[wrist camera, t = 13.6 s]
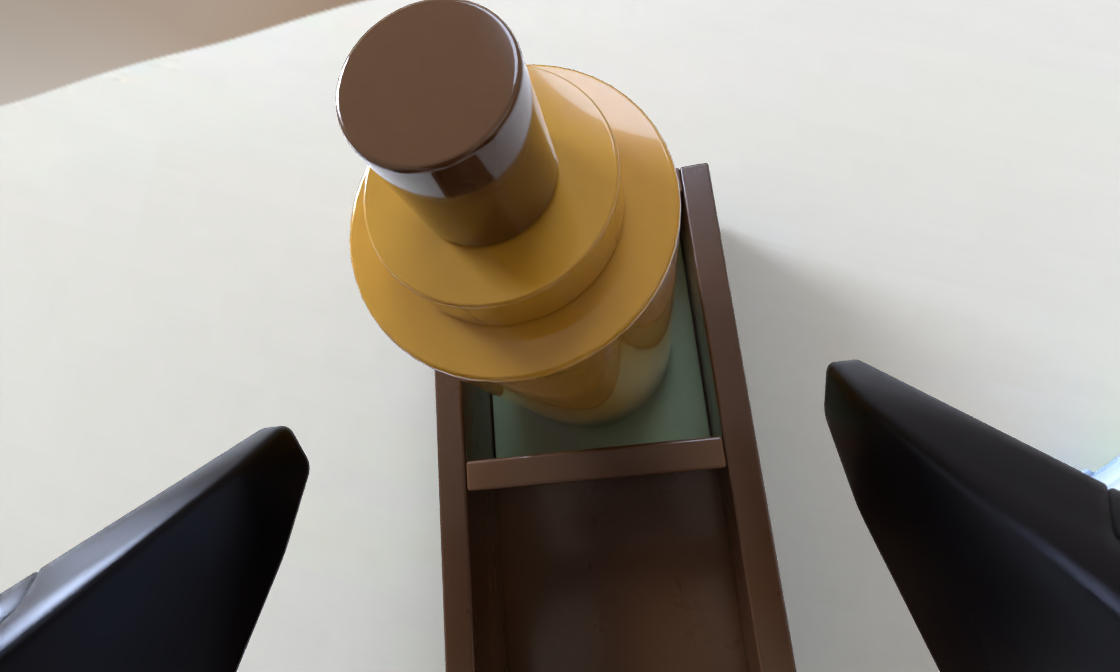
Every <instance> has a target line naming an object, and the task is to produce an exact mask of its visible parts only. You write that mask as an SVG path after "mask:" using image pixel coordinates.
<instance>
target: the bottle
mask: <svg viewBox="0 0 1120 672" xmlns="http://www.w3.org/2000/svg"><path fill="white" fill-rule="evenodd" d="M336 112H337V116H338V121H339V125H340V127H341V130H342V133H343V135H344V137H345V138H346V140H347V142H348V144H349V145H350V146H351V147H352V149H353V150H354V151H355V152H356V153H357V154H358V155H359V156H360V157H361V158H362V159H363V160H364V161H365V162H366V163H367V164H368V166H367V168H366V171H365V173H364V175H363V177H362V180H361V182H360V185H359V188H358V191H357V194H356V197H355V201H354V206H353V211H352V217H351V225H350V251H351V261H352V266H353V271H354V275H355V280H356V282H357V285H358V288H359V291H360V293H361V296H362V299H363V301H364V303H365V304H366V306H367V308H368V310H369V312H370V314H371V316H372V317H373V319H374V320H375V321H376V323H377V324H378V325H379V327H380V328H381V329H382V331H383V332H384V333H385V334H386V335H387V336H388V337H389V338H390V339H391V340H392V341H393V342H394V343H395V344H396V345H397V346H398V347H399V348H401V349H402V350H403V351H405V352H406V353H407V354H409V355H410V356H411V357H413V358H414V359H416V360H417V361H419V362H421V363H423V364H425V365H427V366H429V367H430V368H432V369H434V370H437V371H439V372H441V373H444V374H446V375H448V376H451V377H453V378H456V379H458V380H460V381H463V382H465V383H467V384H470V385H472V386H474V387H477V388H479V389H482V390H484V391H486V392H489V393H491V394H493V395H496V396H498V397H500V398H503V399H505V400H508V401H510V402H512V403H515V404H517V405H519V406H522V407H524V408H526V409H529V410H531V411H534V412H536V413H538V414H541V415H543V416H545V417H548V418H550V419H552V420H555V421H557V422H560V423H563V424H565V425H570V426H574V427H583V428H595V427H602V426H608V425H611V424H614V423H617V422H620V421H622V420H624V419H626V418H628V417H630V416H632V415H633V414H635V413H636V412H638V411H639V410H640V409H641V408H642V407H644V406H645V405H646V404H647V403H648V402H649V401H650V399H651V398H652V397H653V396H654V395H655V393H656V392H657V390H658V389H659V387H660V385H661V383H662V381H663V379H664V377H665V374H666V371H667V369H668V365H669V359H670V351H671V338H672V324H673V311H674V298H675V285H676V272H677V259H678V246H679V232H680V215H681V199H680V189H679V181H678V177H677V173H676V169H675V165H674V162H673V160H672V157H671V155H670V152H669V150H668V147H667V145H666V143H665V141H664V140H663V138H662V136H661V135H660V133H659V131H658V130H657V128H656V126H655V125H654V124H653V123H652V122H651V120H650V119H649V118H648V117H647V116H646V114H645V113H644V112H643V111H642V110H641V109H640V108H639V107H638V106H637V105H636V104H635V103H634V102H632V101H631V100H630V99H629V98H628V97H627V96H626V95H624V94H623V93H621V92H620V91H618V90H617V89H615V88H614V87H612V86H611V85H609V84H607V83H605V82H603V81H601V80H599V79H597V78H595V77H593V76H590V75H587V74H584V73H581V72H578V71H575V70H571V69H566V68H561V67H556V66H546V65H526V64H525V61H524V58H523V55H522V52H521V49H520V46H519V43H518V41H517V39H516V37H515V35H514V33H513V32H512V31H511V29H510V28H509V27H508V25H507V24H506V23H505V22H504V21H503V20H502V19H500V18H499V17H498V16H497V15H496V14H494V13H493V12H492V11H490V10H489V9H487V8H485V7H483V6H481V5H479V4H476V3H473V2H470V1H467V0H424V1H420V2H416V3H413V4H410V5H407V6H405V7H403V8H400V9H398V10H396V11H394V12H393V13H391V14H389V15H387V16H386V17H384V18H383V19H382V20H380V21H379V22H377V23H376V24H375V25H374V26H373V27H371V28H370V29H369V30H368V31H367V32H366V33H365V34H364V35H363V36H362V37H361V38H360V40H359V41H358V42H357V44H356V45H355V46H354V47H353V49H352V51H351V52H350V54H349V55H348V57H347V59H346V61H345V63H344V65H343V67H342V70H341V73H340V76H339V79H338V84H337V89H336Z"/></svg>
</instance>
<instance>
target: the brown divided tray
mask: <svg viewBox="0 0 1120 672" xmlns="http://www.w3.org/2000/svg"><path fill="white" fill-rule="evenodd" d="M675 169H676V173H677V177H678V181H679V189H680V199H681V215H680V232H679V246H678V259H677V272H676V285H675V298H674V311H673V324H672V338H671V351H670V359H669V365H668V369H667V371H666V374H665V377H664V379H663V381H662V383H661V385H660V387H659V389H658V390H657V392H656V393H655V395H654V396H653V397H652V398H651V399H650V401H649V402H648V403H647V404H646V405H645V406H644V407H642V408H641V409H640V410H639V411H638V412H636V413H635V414H633V415H632V416H630V417H628V418H626V419H624V420H622V421H620V422H617V423H614V424H611V425H608V426H602V427H595V428H583V427H574V426H570V425H565V424H563V423H560V422H557V421H555V420H552V419H550V418H548V417H545V416H543V415H541V414H538V413H536V412H534V411H531V410H529V409H526V408H524V407H522V406H519V405H517V404H515V403H512V402H510V401H508V400H505V399H503V398H500V397H498V396H496V395H493V394H491V393H489V392H486V391H484V390H482V389H479V388H477V387H474V386H472V385H470V384H467V383H465V382H463V381H460V380H458V379H456V378H453V377H451V376H448V375H446V374H444V373H441V372H439V371H437V370H435V388H436V416H437V443H438V470H439V498H440V525H441V552H442V580H443V607H444V634H445V662H446V672H797V671H796V665H795V660H794V654H793V648H792V643H791V637H790V631H789V625H788V620H787V614H786V608H785V602H784V597H783V591H782V585H781V579H780V574H779V568H778V562H777V556H776V551H775V545H774V539H773V533H772V528H771V522H770V516H769V510H768V505H767V499H766V493H765V487H764V482H763V476H762V470H761V464H760V459H759V453H758V447H757V442H756V436H755V430H754V424H753V419H752V413H751V407H750V401H749V396H748V390H747V384H746V378H745V373H744V367H743V361H742V355H741V350H740V344H739V338H738V332H737V327H736V321H735V315H734V309H733V304H732V298H731V292H730V286H729V281H728V275H727V269H726V263H725V258H724V252H723V246H722V240H721V235H720V229H719V223H718V218H717V212H716V206H715V200H714V195H713V189H712V183H711V177H710V172H709V166H708V164H707V163H703V164H697V165H692V166H686V167H682V168H680V170H679V168H675Z"/></svg>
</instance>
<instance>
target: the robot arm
mask: <svg viewBox="0 0 1120 672" xmlns="http://www.w3.org/2000/svg"><path fill="white" fill-rule="evenodd" d="M824 410H825V416H826V420H827V423H828V426H829V429H830V432H831V434H832V437H833V440H834V443H835V446H836V448H837V451H838V454H839V457H840V460H841V463H842V465H843V468H844V471H845V474H846V477H847V479H848V482H849V485H850V488H851V491H852V493H853V496H854V499H855V501H856V504H857V506H858V509H859V511H860V513H861V515H862V517H863V519H864V522H865V524H866V526H867V528H868V530H869V532H870V534H871V536H872V538H873V540H874V542H875V544H876V546H877V548H878V550H879V552H880V554H881V556H882V558H883V560H884V562H885V564H886V566H887V568H888V569H889V571H890V573H891V575H892V577H893V579H894V581H895V583H896V585H897V587H898V589H899V591H900V593H901V595H902V597H903V599H904V601H905V603H906V605H907V607H908V609H909V611H910V613H911V615H912V617H913V619H914V621H915V623H916V625H917V627H918V629H919V631H920V633H921V635H922V637H923V639H924V641H925V643H926V645H927V647H928V649H929V651H930V653H931V655H932V657H933V659H934V661H935V663H936V665H937V667H938V669H939V671H940V672H1120V491H1119V490H1117V489H1115V488H1110V489H1108V487H1107V485H1106V484H1105V483H1103V482H1101V481H1099V480H1097V479H1095V478H1093V477H1091V476H1089V475H1087V474H1085V473H1083V472H1081V471H1079V470H1077V469H1075V468H1073V467H1071V466H1069V465H1067V464H1065V463H1063V462H1061V461H1059V460H1057V459H1055V458H1053V457H1051V456H1049V455H1047V454H1045V453H1043V452H1041V451H1039V450H1037V449H1035V448H1033V447H1031V446H1029V445H1027V444H1025V443H1023V442H1021V441H1019V440H1017V439H1015V438H1013V437H1011V436H1009V435H1007V434H1005V433H1003V432H1001V431H999V430H997V429H995V428H993V427H991V426H989V425H987V424H985V423H983V422H981V421H979V420H977V419H975V418H973V417H971V416H969V415H967V414H965V413H963V412H961V411H959V410H957V409H955V408H954V407H952V406H950V405H948V404H946V403H944V402H942V401H940V400H938V399H936V398H934V397H932V396H930V395H928V394H926V393H924V392H922V391H920V390H918V389H916V388H914V387H912V386H910V385H908V384H906V383H904V382H902V381H900V380H898V379H896V378H894V377H892V376H890V375H888V374H886V373H884V372H882V371H880V370H878V369H876V368H874V367H872V366H870V365H868V364H866V363H864V362H862V361H859V360H847V361H839V362H832V363H831V364H829V365H828V368H827V371H826V385H825V401H824ZM308 475H309V461H308V459H307V457H306V455H305V453H304V451H303V450H302V448H301V446H300V444H299V442H298V441H297V439H296V437H295V435H294V434H293V432H292V431H291V430H290V429H289V428H288V427H285V426H278V427H269V428H264V429H261V430H259V431H258V432H256V433H255V434H253V435H251V436H250V437H248V438H247V439H245V440H244V441H242V442H240V443H239V444H237V445H236V446H234V447H232V448H231V449H229V450H228V451H226V452H225V453H223V454H221V455H220V456H218V457H217V458H215V459H213V460H212V461H210V462H209V463H207V464H206V465H204V466H202V467H201V468H199V469H198V470H196V471H194V472H193V473H191V474H190V475H188V476H187V477H185V478H183V479H182V480H180V481H179V482H177V483H175V484H174V485H172V486H171V487H169V488H168V489H166V490H164V491H163V492H161V493H160V494H158V495H156V496H155V497H153V498H152V499H150V500H149V501H147V502H145V503H144V504H142V505H141V506H139V507H137V508H136V509H134V510H133V511H131V512H130V513H128V514H126V515H125V516H123V517H122V518H120V519H118V520H117V521H115V522H114V523H112V524H111V525H109V526H107V527H106V528H104V529H103V530H101V531H100V532H98V533H96V534H95V535H93V536H92V537H90V538H88V539H87V540H85V541H84V542H82V543H81V544H79V545H77V546H76V547H74V548H73V549H71V550H69V551H68V552H66V553H65V554H63V555H62V556H60V557H58V558H57V559H55V560H54V561H52V562H50V563H49V564H47V565H46V566H44V567H43V568H41V569H40V571H39V572H35V573H33V574H31V575H30V576H28V577H27V578H25V579H23V580H22V581H20V582H19V583H17V584H15V585H14V586H12V587H11V588H9V589H8V590H6V591H4V592H3V593H1V594H0V672H237V669H238V667H239V664H240V662H241V659H242V657H243V654H244V652H245V650H246V647H247V645H248V642H249V640H250V637H251V635H252V633H253V630H254V628H255V625H256V623H257V620H258V618H259V616H260V613H261V611H262V608H263V606H264V603H265V601H266V598H267V596H268V594H269V591H270V589H271V586H272V584H273V581H274V579H275V577H276V574H277V572H278V569H279V567H280V564H281V562H282V559H283V556H284V554H285V551H286V548H287V545H288V542H289V539H290V535H291V532H292V529H293V525H294V522H295V519H296V515H297V512H298V509H299V505H300V502H301V499H302V495H303V492H304V489H305V485H306V482H307V479H308Z"/></svg>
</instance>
